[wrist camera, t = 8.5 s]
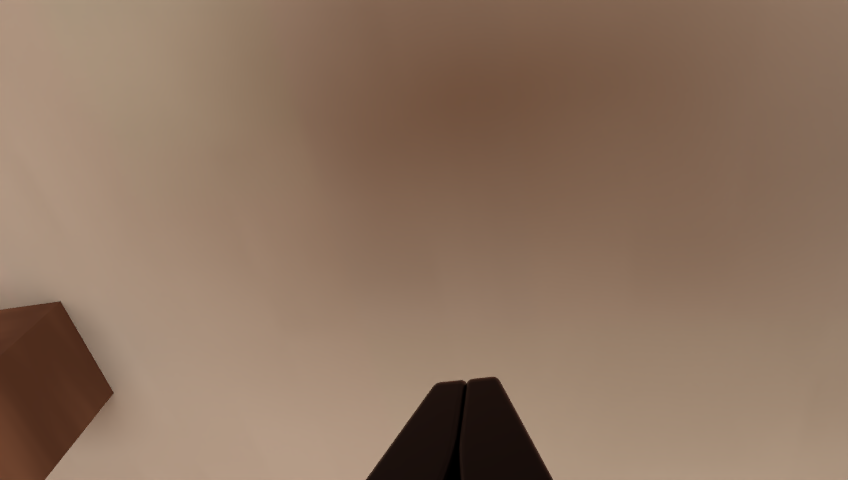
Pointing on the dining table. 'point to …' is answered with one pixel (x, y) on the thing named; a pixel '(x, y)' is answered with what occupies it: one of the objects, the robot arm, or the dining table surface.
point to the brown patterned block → (43, 389)
